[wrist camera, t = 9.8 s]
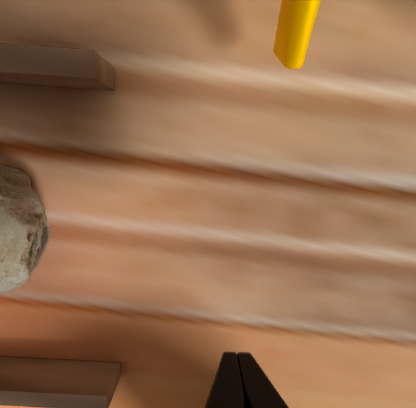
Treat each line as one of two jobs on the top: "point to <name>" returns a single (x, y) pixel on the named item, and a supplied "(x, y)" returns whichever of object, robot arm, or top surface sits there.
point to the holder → (53, 368)
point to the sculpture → (20, 229)
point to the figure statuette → (294, 31)
